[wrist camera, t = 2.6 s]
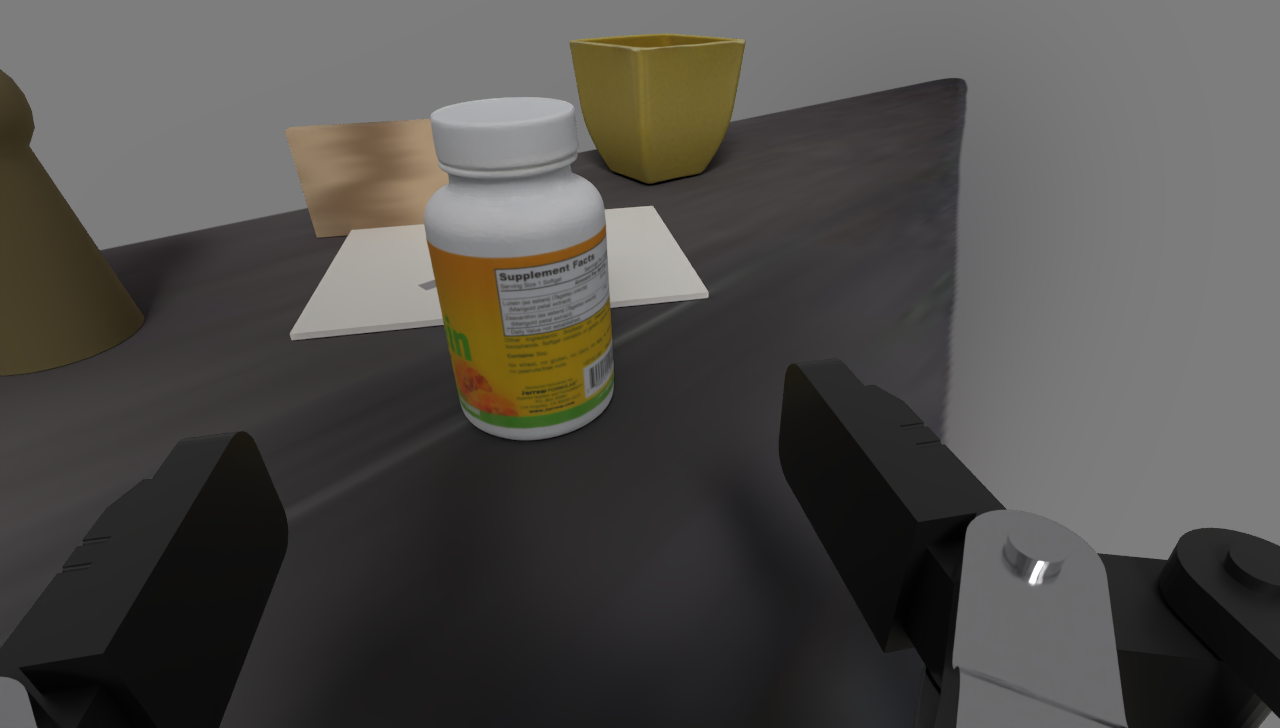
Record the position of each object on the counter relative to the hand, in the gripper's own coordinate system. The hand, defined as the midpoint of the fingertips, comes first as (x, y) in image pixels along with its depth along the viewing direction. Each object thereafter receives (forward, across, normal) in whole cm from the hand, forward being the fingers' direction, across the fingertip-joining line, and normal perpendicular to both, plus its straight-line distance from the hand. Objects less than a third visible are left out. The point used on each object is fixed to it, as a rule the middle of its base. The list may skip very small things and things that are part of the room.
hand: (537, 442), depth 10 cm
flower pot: (+39, -10, +7) cm, 41 cm away
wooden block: (+31, +8, +6) cm, 33 cm away
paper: (+24, +1, +6) cm, 25 cm away
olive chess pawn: (+20, +20, +7) cm, 29 cm away
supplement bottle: (+11, 0, +7) cm, 13 cm away
